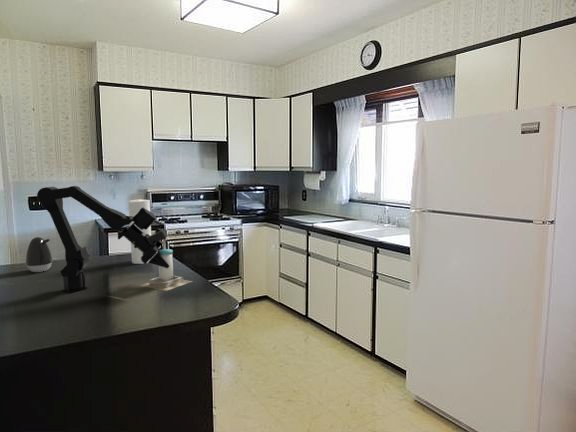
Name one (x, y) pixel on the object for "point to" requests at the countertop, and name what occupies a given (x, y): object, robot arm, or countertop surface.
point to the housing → (166, 283)
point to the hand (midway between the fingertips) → (169, 265)
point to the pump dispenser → (38, 255)
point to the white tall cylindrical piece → (167, 273)
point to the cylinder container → (133, 210)
